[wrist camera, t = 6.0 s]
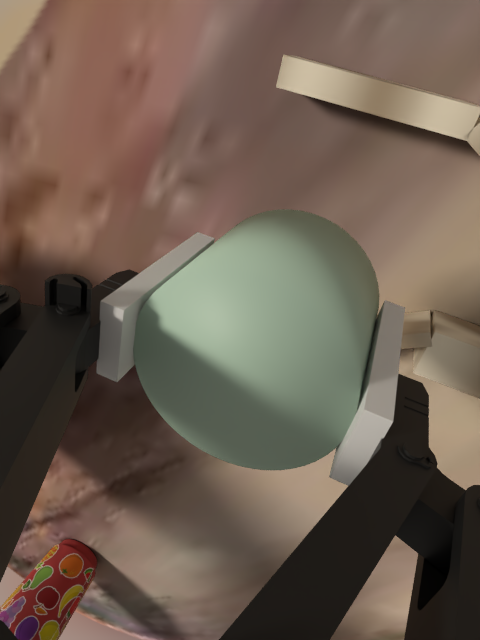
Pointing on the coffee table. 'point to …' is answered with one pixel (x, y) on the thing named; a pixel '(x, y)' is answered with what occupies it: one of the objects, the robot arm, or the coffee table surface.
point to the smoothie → (50, 592)
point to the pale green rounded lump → (262, 341)
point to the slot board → (431, 114)
